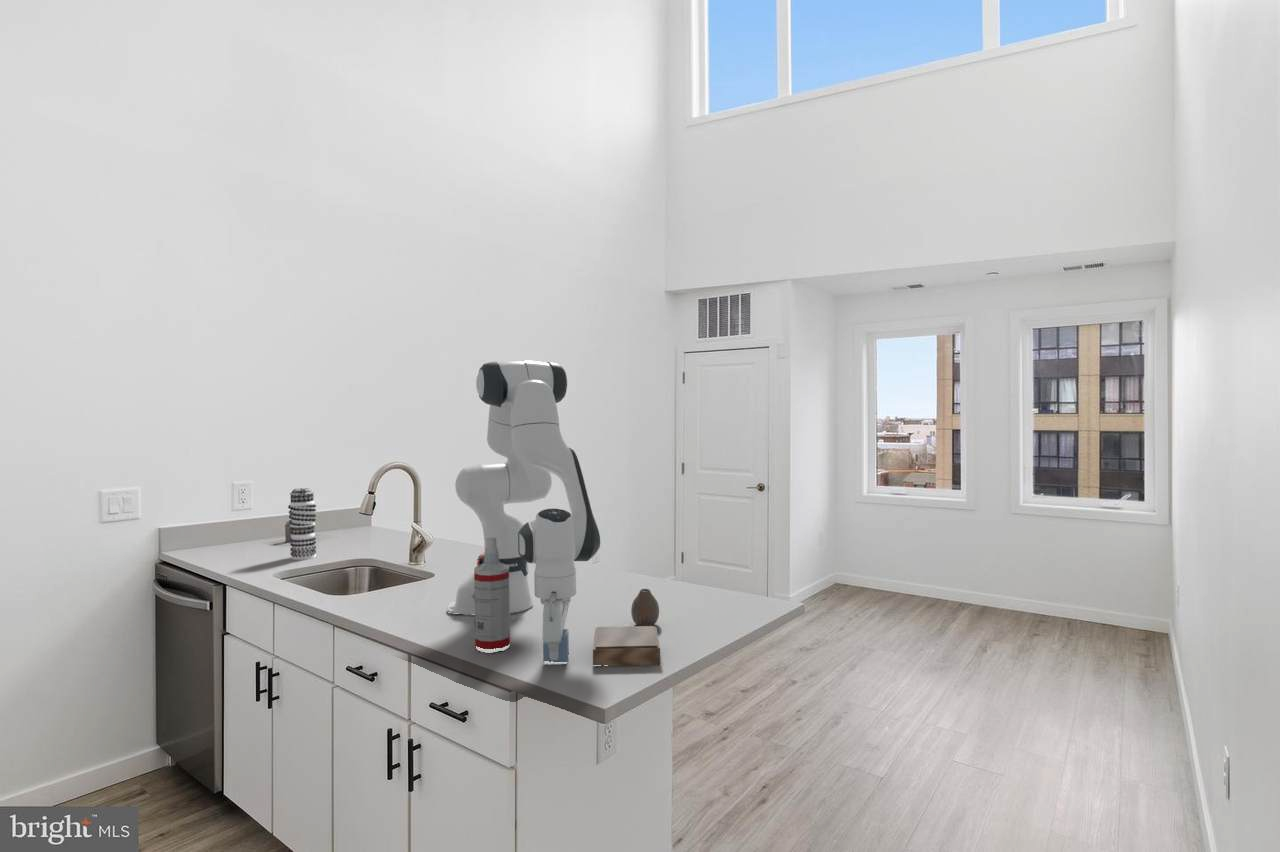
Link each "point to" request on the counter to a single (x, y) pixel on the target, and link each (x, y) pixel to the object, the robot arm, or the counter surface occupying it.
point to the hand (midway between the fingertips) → (556, 650)
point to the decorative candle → (302, 524)
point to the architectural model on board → (288, 531)
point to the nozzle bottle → (492, 600)
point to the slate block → (562, 649)
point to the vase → (645, 609)
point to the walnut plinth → (626, 646)
